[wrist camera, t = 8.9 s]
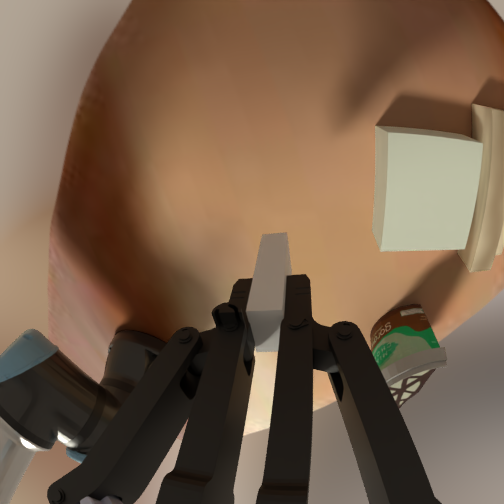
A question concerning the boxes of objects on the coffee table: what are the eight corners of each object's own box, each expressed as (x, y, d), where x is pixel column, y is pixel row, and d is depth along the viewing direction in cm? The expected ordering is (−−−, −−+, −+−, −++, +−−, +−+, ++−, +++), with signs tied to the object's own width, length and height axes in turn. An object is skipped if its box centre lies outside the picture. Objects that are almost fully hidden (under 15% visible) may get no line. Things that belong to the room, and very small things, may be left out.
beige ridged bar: (457, 253, 24) (470, 272, 21) (471, 103, 16) (492, 108, 13) (497, 249, 23) (511, 267, 20) (515, 113, 15) (536, 120, 12)
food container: (380, 290, 29) (398, 363, 20) (425, 295, 28) (450, 363, 20) (349, 355, 36) (352, 419, 27) (387, 357, 35) (396, 418, 27)
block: (371, 229, 25) (380, 251, 22) (374, 125, 20) (387, 132, 17) (448, 228, 24) (464, 249, 20) (460, 133, 18) (483, 143, 15)
